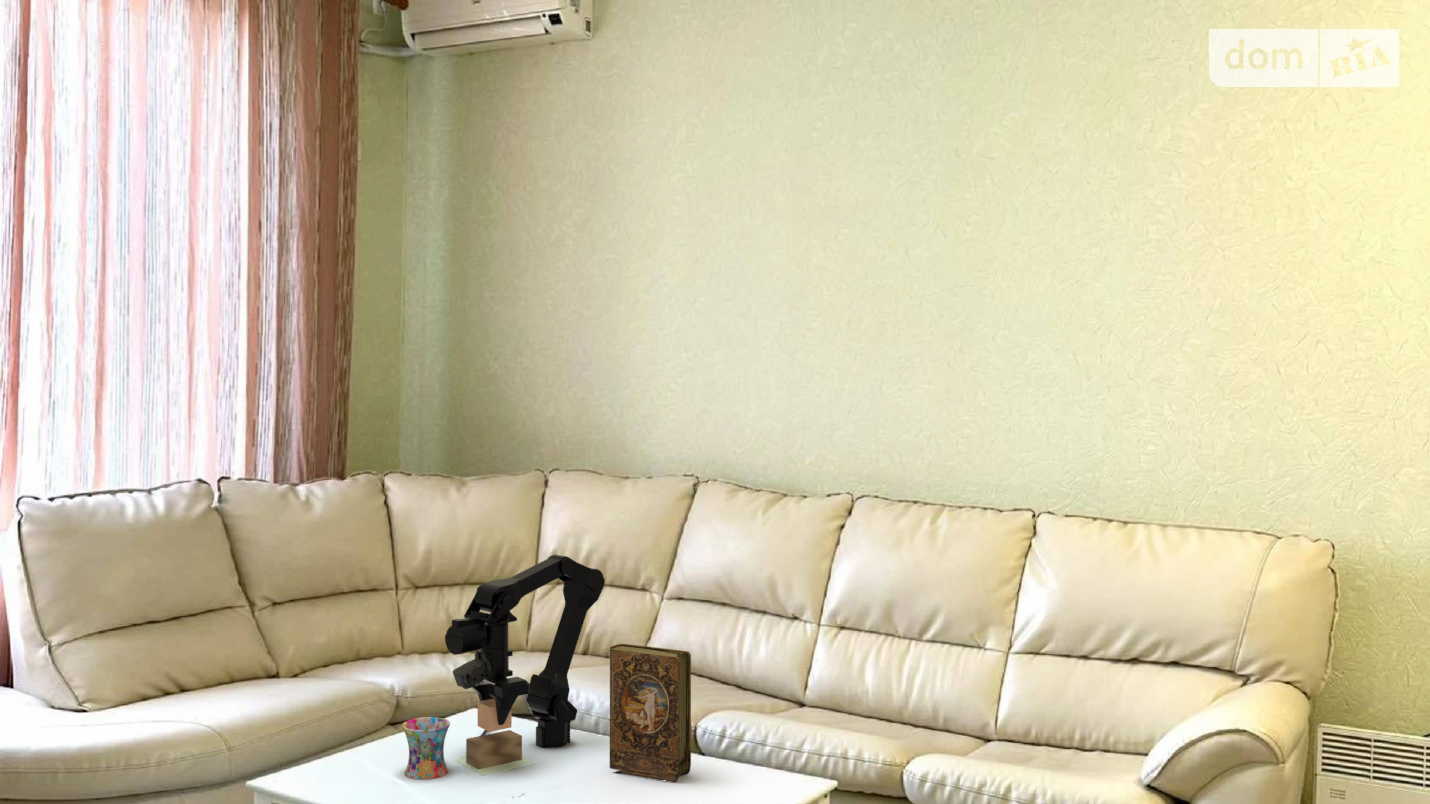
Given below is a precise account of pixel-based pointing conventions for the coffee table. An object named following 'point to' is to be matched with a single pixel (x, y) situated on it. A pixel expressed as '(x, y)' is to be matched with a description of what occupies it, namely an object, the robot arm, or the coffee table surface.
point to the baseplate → (496, 768)
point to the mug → (426, 747)
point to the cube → (491, 716)
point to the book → (650, 711)
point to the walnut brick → (493, 749)
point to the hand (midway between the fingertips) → (494, 721)
